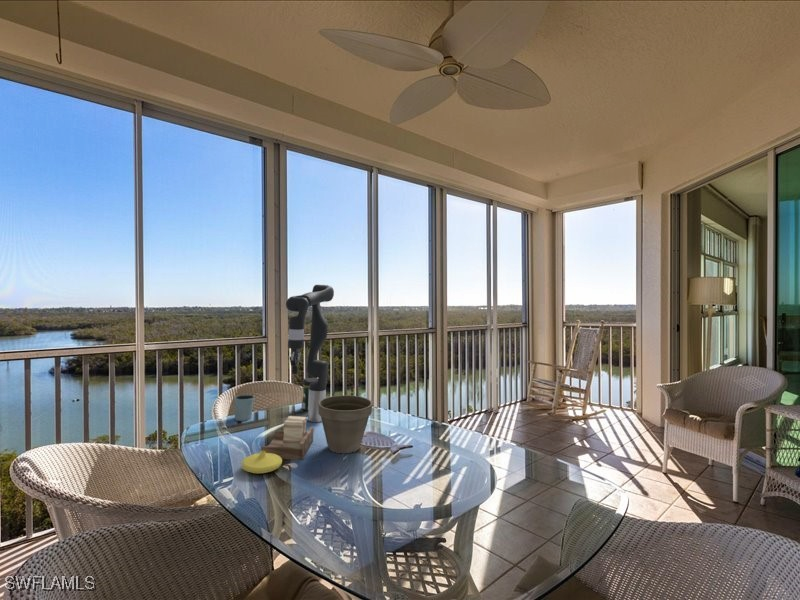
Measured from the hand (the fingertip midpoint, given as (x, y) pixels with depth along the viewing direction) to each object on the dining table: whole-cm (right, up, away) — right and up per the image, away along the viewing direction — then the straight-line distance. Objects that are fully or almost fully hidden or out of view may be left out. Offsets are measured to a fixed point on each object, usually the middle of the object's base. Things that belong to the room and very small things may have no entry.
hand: (294, 373), depth 201 cm
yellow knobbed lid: (-5, -33, -34) cm, 47 cm away
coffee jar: (-3, -30, +49) cm, 58 cm away
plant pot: (+25, -34, -8) cm, 43 cm away
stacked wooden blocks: (+3, -31, -13) cm, 34 cm away
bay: (0, -32, -13) cm, 35 cm away
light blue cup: (-35, -29, +25) cm, 52 cm away
